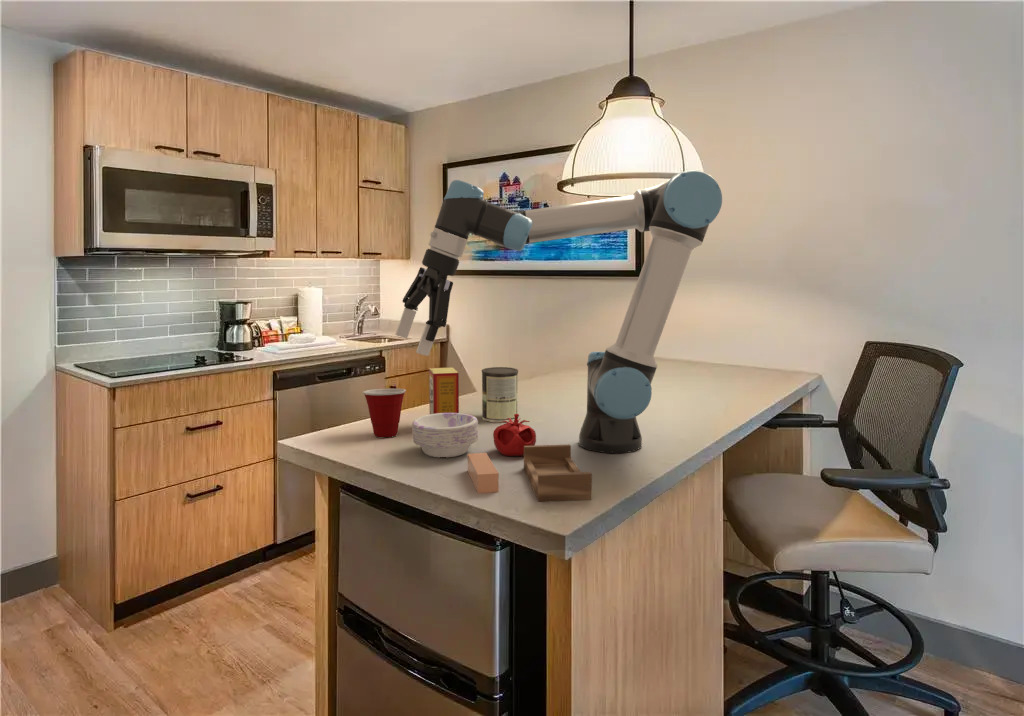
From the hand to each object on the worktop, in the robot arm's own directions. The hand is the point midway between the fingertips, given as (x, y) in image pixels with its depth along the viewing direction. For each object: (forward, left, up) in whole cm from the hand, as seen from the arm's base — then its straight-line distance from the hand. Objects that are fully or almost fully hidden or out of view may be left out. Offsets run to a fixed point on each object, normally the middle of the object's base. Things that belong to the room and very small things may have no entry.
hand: (411, 345), depth 142 cm
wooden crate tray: (-29, +19, -26) cm, 43 cm away
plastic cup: (+8, -22, -26) cm, 35 cm away
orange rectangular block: (-14, +16, -26) cm, 34 cm away
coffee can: (-23, -37, -26) cm, 51 cm away
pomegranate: (-23, -3, -26) cm, 35 cm away
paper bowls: (-7, -5, -26) cm, 28 cm away
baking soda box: (-7, -28, -26) cm, 39 cm away
